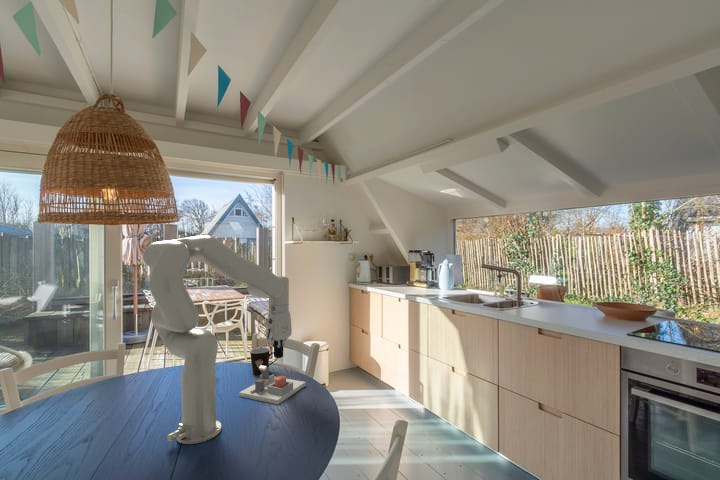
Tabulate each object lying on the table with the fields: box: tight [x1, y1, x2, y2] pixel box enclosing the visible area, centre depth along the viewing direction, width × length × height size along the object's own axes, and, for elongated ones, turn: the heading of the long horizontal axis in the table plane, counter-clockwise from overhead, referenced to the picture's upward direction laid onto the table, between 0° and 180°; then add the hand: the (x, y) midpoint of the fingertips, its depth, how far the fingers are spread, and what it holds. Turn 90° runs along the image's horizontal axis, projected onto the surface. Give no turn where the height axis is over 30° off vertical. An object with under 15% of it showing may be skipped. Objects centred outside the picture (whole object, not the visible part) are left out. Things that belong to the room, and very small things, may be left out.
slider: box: [254, 378, 265, 392], centre depth 134 cm, size 2×2×4 cm
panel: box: [238, 373, 306, 405], centre depth 138 cm, size 18×18×4 cm
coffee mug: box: [249, 347, 279, 376], centre depth 158 cm, size 12×9×10 cm
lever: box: [259, 365, 271, 380], centre depth 143 cm, size 1×3×7 cm, turn 66°
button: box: [274, 375, 287, 388], centre depth 134 cm, size 4×4×4 cm
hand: (278, 357), depth 133 cm, fingers closed
